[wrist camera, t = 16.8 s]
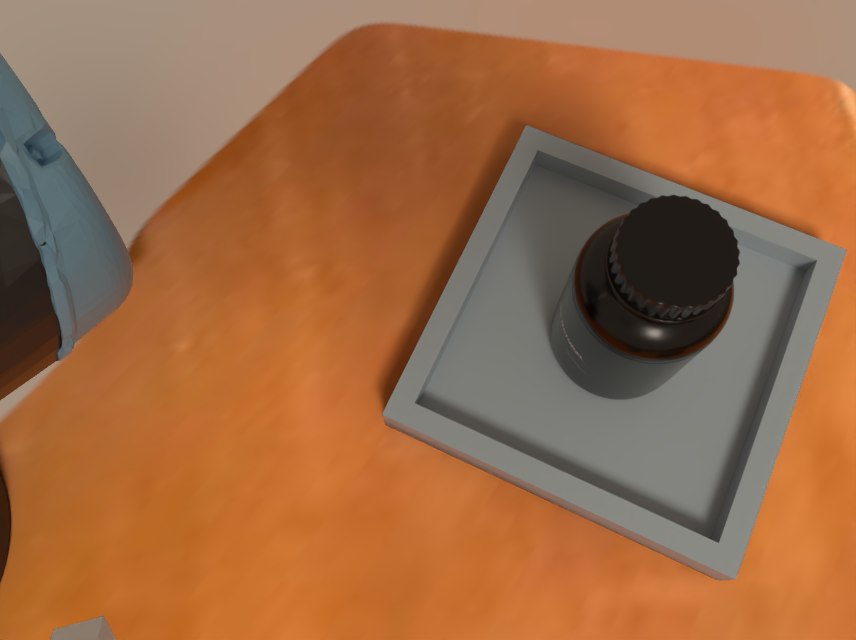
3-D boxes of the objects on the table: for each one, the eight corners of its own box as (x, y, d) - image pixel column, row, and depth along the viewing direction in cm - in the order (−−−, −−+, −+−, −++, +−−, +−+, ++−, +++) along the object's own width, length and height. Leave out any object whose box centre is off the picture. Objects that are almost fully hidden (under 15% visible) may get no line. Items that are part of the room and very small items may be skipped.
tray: (385, 424, 42) (381, 414, 39) (522, 148, 47) (526, 124, 44) (718, 580, 39) (735, 579, 37) (825, 268, 44) (846, 249, 42)
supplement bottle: (522, 350, 42) (550, 260, 30) (597, 255, 43) (650, 136, 32) (632, 431, 40) (705, 369, 29) (706, 329, 42) (802, 232, 31)
